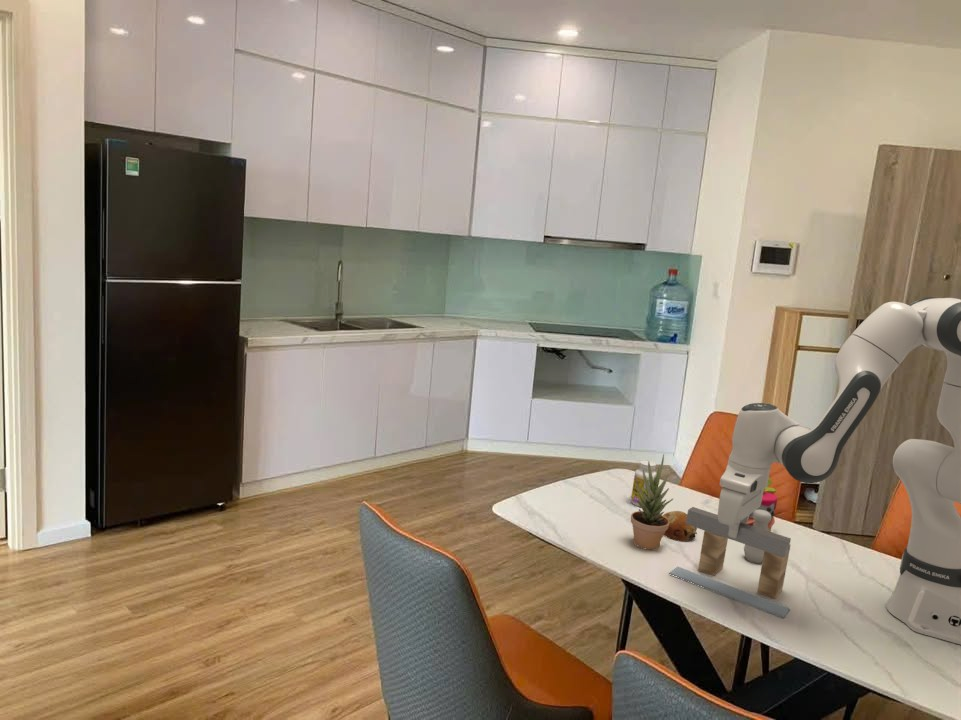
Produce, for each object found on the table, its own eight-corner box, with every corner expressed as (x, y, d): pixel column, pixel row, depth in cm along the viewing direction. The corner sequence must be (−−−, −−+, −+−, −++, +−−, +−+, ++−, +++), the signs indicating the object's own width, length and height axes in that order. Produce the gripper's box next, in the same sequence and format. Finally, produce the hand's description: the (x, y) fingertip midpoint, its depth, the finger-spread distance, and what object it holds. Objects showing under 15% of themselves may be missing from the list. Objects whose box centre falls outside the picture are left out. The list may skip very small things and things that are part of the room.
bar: (787, 553, 156) (790, 538, 156) (784, 557, 154) (787, 542, 153) (690, 521, 169) (692, 506, 169) (685, 524, 167) (688, 509, 166)
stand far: (722, 568, 176) (730, 525, 174) (714, 576, 171) (721, 531, 169) (706, 562, 178) (713, 520, 176) (697, 570, 174) (705, 526, 172)
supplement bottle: (627, 499, 218) (633, 458, 216) (648, 500, 219) (654, 459, 217) (634, 507, 211) (640, 465, 209) (656, 509, 212) (662, 467, 210)
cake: (775, 539, 198) (785, 487, 195) (735, 533, 200) (744, 481, 197) (767, 525, 208) (776, 476, 206) (729, 519, 210) (737, 470, 207)
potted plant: (635, 552, 180) (649, 457, 176) (622, 536, 189) (635, 446, 185) (672, 553, 182) (687, 459, 177) (658, 537, 191) (671, 448, 187)
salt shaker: (768, 566, 180) (777, 517, 178) (744, 562, 181) (752, 513, 179) (764, 557, 185) (772, 509, 183) (740, 553, 186) (749, 505, 184)
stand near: (782, 589, 168) (790, 544, 166) (774, 598, 163) (783, 552, 161) (764, 583, 170) (772, 539, 168) (756, 592, 165) (765, 546, 163)
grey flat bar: (789, 610, 158) (790, 608, 158) (783, 618, 154) (784, 616, 154) (677, 568, 173) (677, 566, 173) (668, 574, 169) (669, 572, 169)
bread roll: (684, 540, 200) (680, 511, 202) (706, 540, 191) (703, 509, 193) (653, 542, 197) (650, 512, 199) (674, 541, 188) (671, 510, 190)
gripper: (747, 463, 169) (736, 518, 172) (717, 479, 153) (706, 541, 155) (774, 470, 166) (763, 527, 168) (747, 488, 149) (735, 551, 152)
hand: (736, 534), depth 161 cm, fingers closed on bar, 3 cm apart
